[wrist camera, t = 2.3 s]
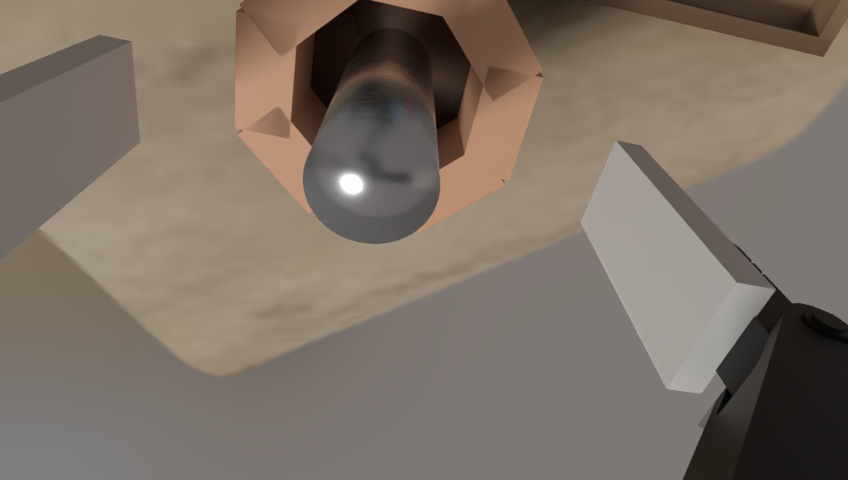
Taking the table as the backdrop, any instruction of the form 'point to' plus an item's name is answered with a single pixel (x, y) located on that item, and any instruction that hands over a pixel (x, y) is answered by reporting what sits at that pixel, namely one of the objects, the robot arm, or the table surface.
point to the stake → (381, 119)
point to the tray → (753, 19)
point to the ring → (304, 112)
